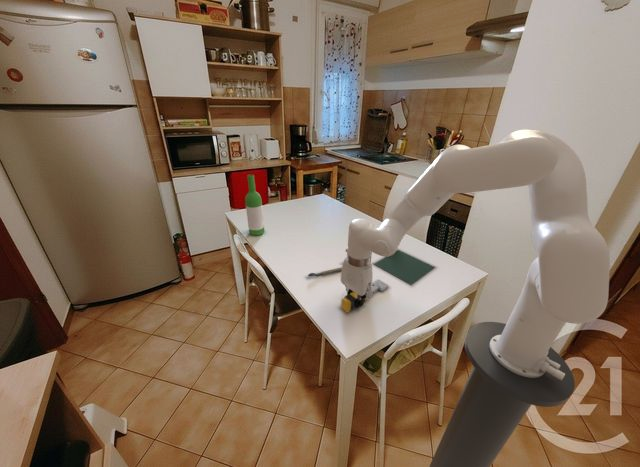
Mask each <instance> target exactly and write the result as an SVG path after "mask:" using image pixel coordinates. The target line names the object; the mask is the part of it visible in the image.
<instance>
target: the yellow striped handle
mask: <svg viewBox="0 0 640 467" xmlns="http://www.w3.org/2000/svg"><path fill="white" fill-rule="evenodd" d="M388 287H389V285H388V284H387V283H386V282H383V281H382V280H380V279H377V280H375V281H374V282H372V288H371V291H372V294H373V295H374V294H375V293H376V292H378V291H380V292H384V291H385V290H386V289H388ZM356 298H358V297H357V293H355V292H352V293H350V294H348V295H347V294H346V295H345V296H344V297H342V298H341V303H340V304H341V305H340V308H341V309H342V310H344V312H346V313H347V314H348V313H350V312H351V311H353V310H355V309H356V308H355V304H356ZM367 300H368V298H364V300H363V303H365V302H366V301H367Z"/></svg>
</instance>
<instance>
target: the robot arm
mask: <svg viewBox="0 0 640 467" xmlns="http://www.w3.org/2000/svg"><path fill="white" fill-rule="evenodd" d="M525 186H528V187H527V188H528V194H529V202H530V203H529V204H530V221H531V222H530V225H531V226H530V237H531V238H530V239H531V241H532V244H533V247H534V250H535V253H536V255H537V257H536V258H535V259H534V260H533V261H532V263H531V264H530V266H529V267H528V271H527V274H526V278H525V281H524V284H523V287H522V289H521V292H520V294H519V297H518V299H517V301H516V303H515V305H514V307H513V309H512V311H511V314H510V315H509V317H508V319H507V322H506V323H505V324H506V326H505V328H504V330H503V332H502V334H501V335H496V336H494V337H493V338H492V339H491V341H490V344H489V347H490V351H491V353H492V355H493V356H494V357H495V359H496V360H497V361H498V362H499V363H500V364H501V365H503V366H504V367H505V368H507V369H508V370H510V371H512V372H514V373H516V374H518V375H521V376H524V377H529V378H537V377H540V376H542V375H543V374H544V373H545V371H546V372H548V373H550V374H551V375H552V376H554V377H556V378H557V379H559V380H561V381H562V379H563V378H564V376H565V373H563V372H561V371H559V370H558V369H559V368H560V366H561V365H559V364H558V363H556V362H553V361H552V360H550V359H549V358H548V357H547V354H548V350H549V349H550V347H551V348H552V346H553V344H554V342H555V341H556V340H557V338H558V336H559V334H560V332H561V331H562V329H563V327H565V325H566V323H568V324H573V325H574V324H575V325H581V324H587V323H590V322H593V321H595V320H597V319H598V318H599V317H601V315H603V313H604V312H605V310H606V309H607V306H608V302H609V289H610V268H611V267H610V266H611V265H610V264H611V263H610V262H611V259H610V257H611V256H610V250H609V247H608V244H607V241H606V240H605V238H604V236H603V235H602V234H601V232H599V231H598V230H597V228H596V227H595V226H594V225H593V224H592V222H591V220H590V218H589V210H588V208H589V207H588V194H587V193H588V192H587V178H586V172H585V169H584V165H583V164H582V161H581V159H580V157H579V156H578V155H577V153H576V152H575V150H574V149H573V148H572V147H571V146H570V145H569V144H568V143H566V142H565V140H562V139H561V138H559V137H558V136H556V135H553V134H551V133H548V132H546V131H545V132H544V131H542V130H536V129H518V130H515V131H512V132H510V133H509V134H507V135H506V136H505V137H503V138H502V139H501V140H500V141H499V142H497V143H493V144H488V145H483V146H482V145H481V146H477V147H470V146H468V145H465V144H454V145H451V146H449V147H446V148H445V149H444V150H442V152H440V154H439V155H437V157H436V158H435V159H434V161H433V162H432V163H431V164H430V165H429V166H428V168H426V170H425V171H424V172H423V173H422V174H421V175H420V177H419V178H418V179H417V180H416V181H415V182H414V183H413V185H412V186H411V187H410V188H409V189H408V191H407V192H406V193H405V194H404V196H403V198H402V199H401V200H400V201H399V203H398V204H397V205H396V206H395V208H394V209H393V210H392V211H391V212H390V213H389V214H388V215H387V217H386V218H385V219H384V220H383V221H382V222H381V224H380V225H379V226H378V227H377V228H376V227H375V224H374V222H373V221H371V220H369V219H366V218H356V219H352V220H351V221H350V223H349V224H348V232H347V233H348V235H347V237H348V238H347V248H346V249H345V252H346V256H345V257H344V260H343V262H342V266H341V268H342V271H340V282H341V284H342V285H343V286H344V287H345V291H346V295H348V294H350V293H352V292H355V293H357V297H358V298H356V304H355V308H354V309H358V308H360V307H362V306H363V305H364V302H363V300H364V298H367V299H372V298H374V293H373V294H372V291H371V288H372V287H373V286H372V284H373V277H374V276H373V272H374V271H373V265H372V255H373V254H375V255H377V256H380V257H383V258H385V257H388V256H391V255H393V254H394V253H395V252H396V251H397V250H398V249H399V246H400V244H401V242H402V240H403V239H404V236H406V234H407V233H408V232H409V231H410V230H411V229H412V228H413V227H414V226H415V225H416V224H417V223H418V222H420V220H422V219H423V218H425V217H430V216H433V215H434V214H435V213H437V211H439V210H440V209H441V208H442V207H443V206H444V205H445V204H446V202H448V201H449V200H450V199H451V198H452V197H453V196H454V195H455V194H468V193H469V194H470V193H477V192H478V193H479V192H488V191H495V190H496V191H497V190H502V189H503V190H504V189H512V188H519V187H525ZM550 365H551V366H552V367H551V366H550ZM553 367H554V368H553Z"/></svg>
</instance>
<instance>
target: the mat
mask: <svg viewBox="0 0 640 467" xmlns="http://www.w3.org/2000/svg"><path fill="white" fill-rule="evenodd" d="M373 265H374V266H376V267H378V268H380V269H382V270H383V271H385V272H387V273H389V274H391V275H392V276H394V277H396V278H397V279H400V280H401V281H402V282H403V281H404V282H405V283H406V284H409V285H410V286H411V285H413V284H415V283H416V282H417V281H418V280H420V279H421V278H422V277H424V276H425V275H426V274H428V273H429V272H431V271H432V270H433V269H435V266H433V265H431V264H430V263H427V262H425V261H423V260H421V259H418V258H416V257H414V256H412V255H410V254H408V253H406V252H404V251H402V250H399V249H397V250H396V252H395V253H394V254H393V255H391V256H388V257H383V258H381V259H380V260H378V261H376V262H375V263H373Z"/></svg>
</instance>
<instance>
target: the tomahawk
mask: <svg viewBox="0 0 640 467" xmlns="http://www.w3.org/2000/svg"><path fill="white" fill-rule="evenodd" d="M339 272H342V267H337V268H333V269H329V270H325V271H321V272H318V273H314V272H310V273H309V274H307V276H308V277H320V276H326V275H330V274H335V273H339Z"/></svg>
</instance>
